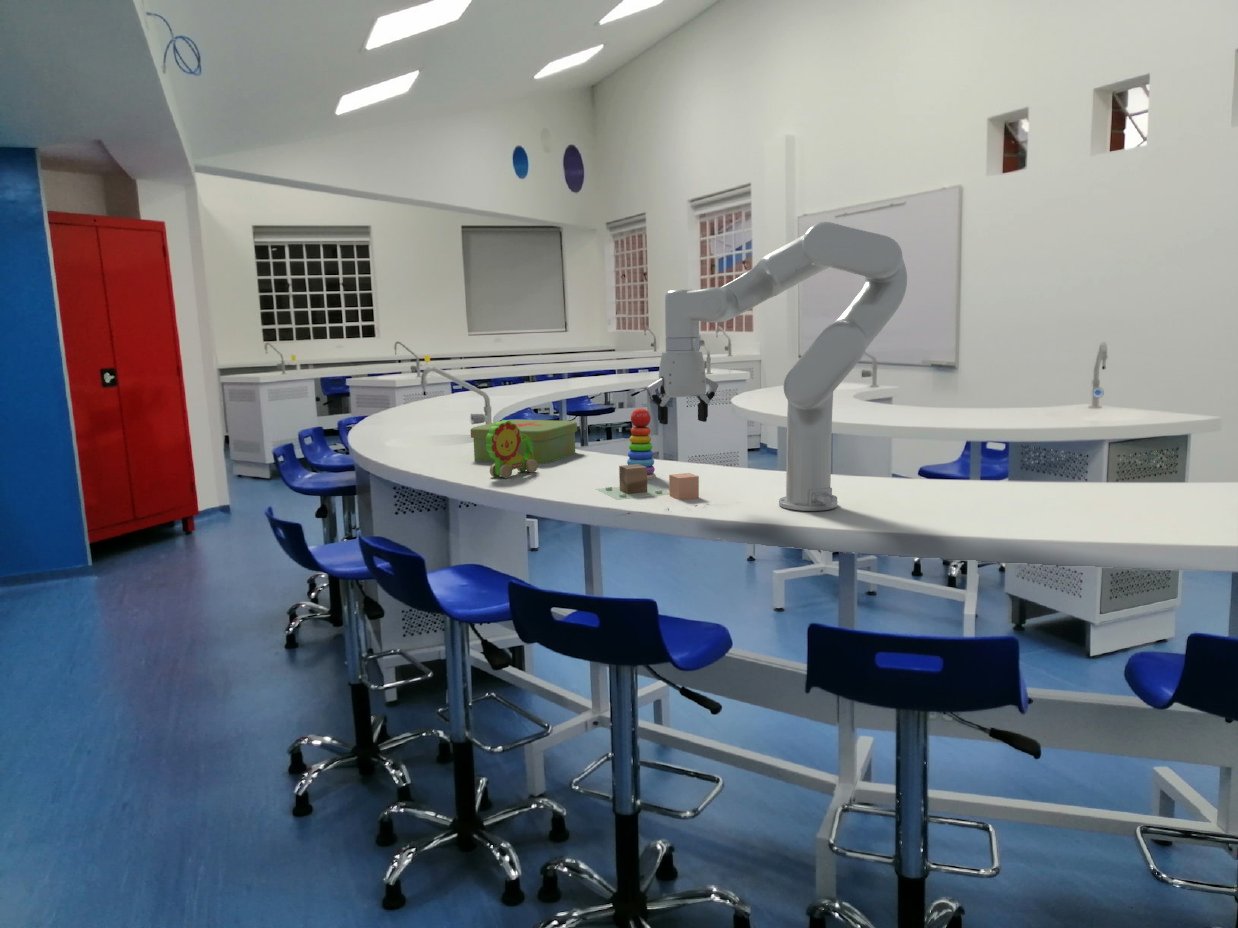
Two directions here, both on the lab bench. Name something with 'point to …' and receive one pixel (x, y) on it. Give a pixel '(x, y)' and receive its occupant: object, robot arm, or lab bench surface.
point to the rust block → (684, 486)
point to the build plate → (618, 494)
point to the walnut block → (633, 478)
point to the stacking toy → (641, 442)
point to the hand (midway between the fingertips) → (683, 422)
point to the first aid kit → (533, 439)
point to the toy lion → (509, 450)
